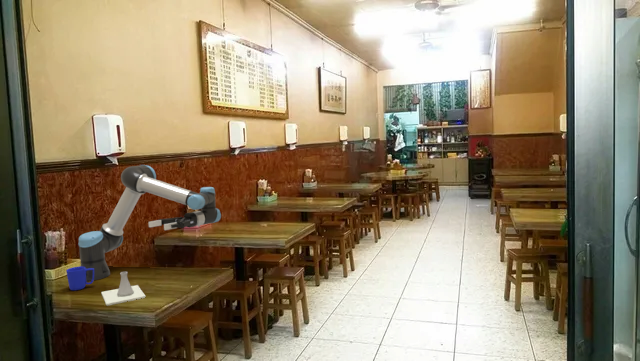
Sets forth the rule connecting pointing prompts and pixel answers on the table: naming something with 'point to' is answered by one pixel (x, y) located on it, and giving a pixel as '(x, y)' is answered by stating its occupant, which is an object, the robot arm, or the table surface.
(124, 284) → the flask
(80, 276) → the mug
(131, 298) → the white rectangular board
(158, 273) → the table surface
